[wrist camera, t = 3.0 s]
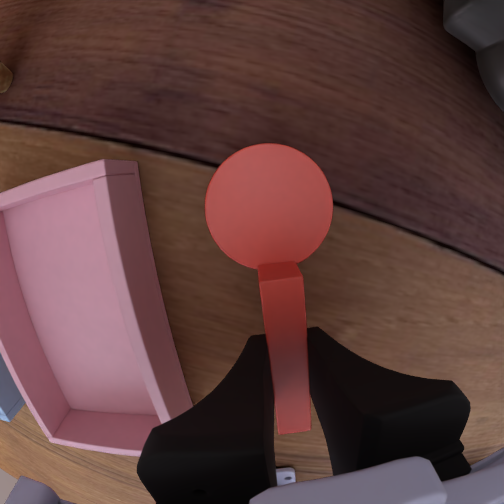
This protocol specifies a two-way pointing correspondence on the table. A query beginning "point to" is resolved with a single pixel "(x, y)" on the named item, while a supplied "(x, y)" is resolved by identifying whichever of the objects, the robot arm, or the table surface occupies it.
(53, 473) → the table surface
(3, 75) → the ice cream cone
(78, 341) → the rose bin
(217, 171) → the red spoon
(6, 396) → the blue bin
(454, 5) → the bundt pan
